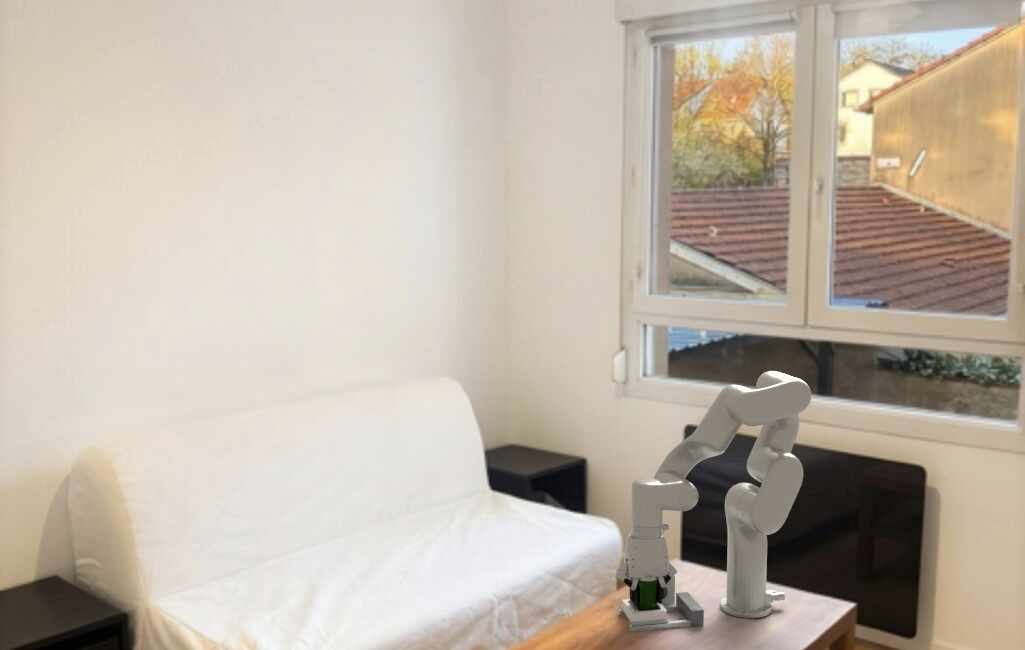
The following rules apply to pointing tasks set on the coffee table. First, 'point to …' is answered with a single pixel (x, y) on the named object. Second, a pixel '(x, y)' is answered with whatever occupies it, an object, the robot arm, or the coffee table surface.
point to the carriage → (644, 614)
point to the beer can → (647, 594)
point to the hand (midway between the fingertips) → (646, 602)
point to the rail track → (687, 610)
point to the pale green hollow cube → (669, 593)
